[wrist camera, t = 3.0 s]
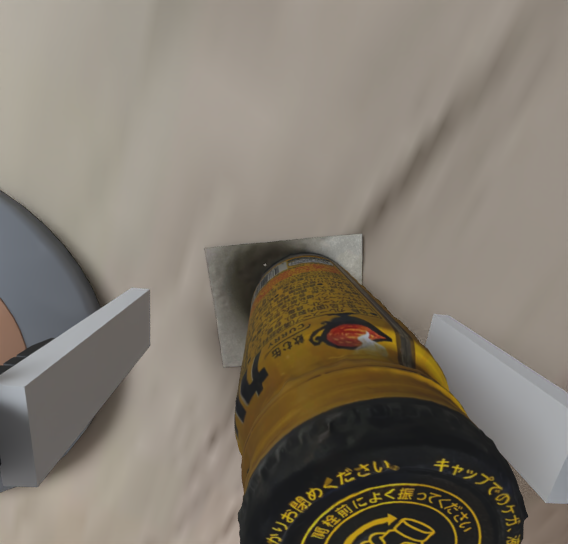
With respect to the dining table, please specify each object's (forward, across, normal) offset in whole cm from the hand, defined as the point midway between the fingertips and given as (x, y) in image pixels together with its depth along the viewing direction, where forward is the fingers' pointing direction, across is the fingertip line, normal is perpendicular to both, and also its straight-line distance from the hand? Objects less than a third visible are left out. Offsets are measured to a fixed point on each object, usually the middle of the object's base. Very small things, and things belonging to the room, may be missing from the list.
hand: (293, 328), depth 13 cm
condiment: (+4, 0, 0) cm, 4 cm away
